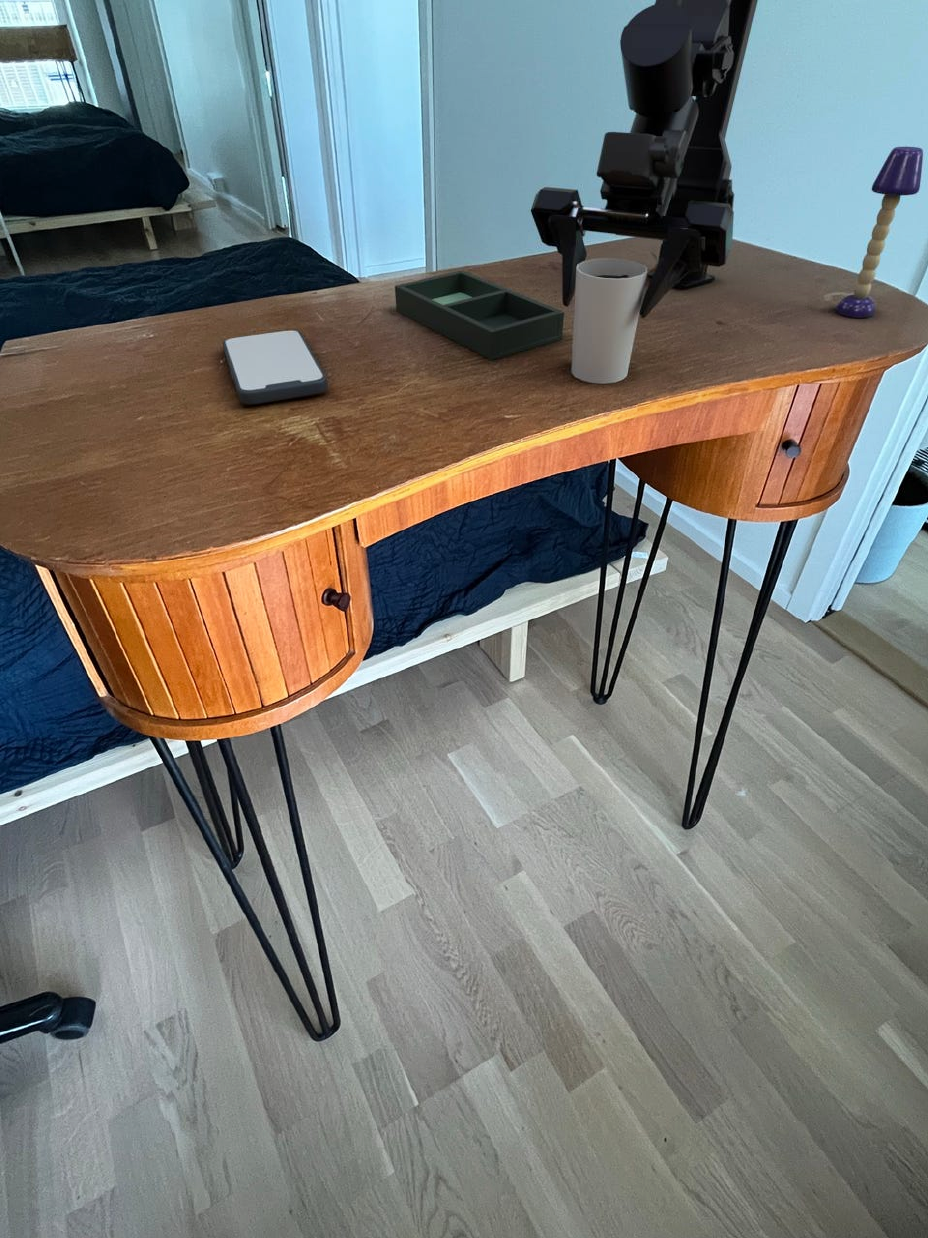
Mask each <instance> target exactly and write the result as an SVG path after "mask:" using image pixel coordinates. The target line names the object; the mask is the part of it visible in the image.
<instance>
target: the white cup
mask: <svg viewBox="0 0 928 1238" xmlns="http://www.w3.org/2000/svg"><path fill="white" fill-rule="evenodd" d="M647 276H648V267H647V266H645V265H644V264H643V263H641V262H637V261H635V260H633V259H632V260H631V259H624V258H618V257H615V258H613V257H602V258H592V259H587V260H585V261H583V262H581V263H579V264H578V265H577V268H576V287H575V293H574V309H573V329H572V330H573V332H572V351H571V374H572V375H573V377H574V378H575V379H578V380H580V381H582V382H587V383H590V384H599V385H600V384H601V385H602V384H603V385H605V384H615V383H617V382H621V381H623V380H624V379H625V378H627V377H628V373H629V369H630V362H631V358H632V354H633V353H632V352H633V346H634V342H635V338H636V337H635V336H636V332H637V328H638V327H637V326H638V322H639V317H640V309H641V305H642V302H643V297H644V290H645V286H646V280H647Z"/></svg>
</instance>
